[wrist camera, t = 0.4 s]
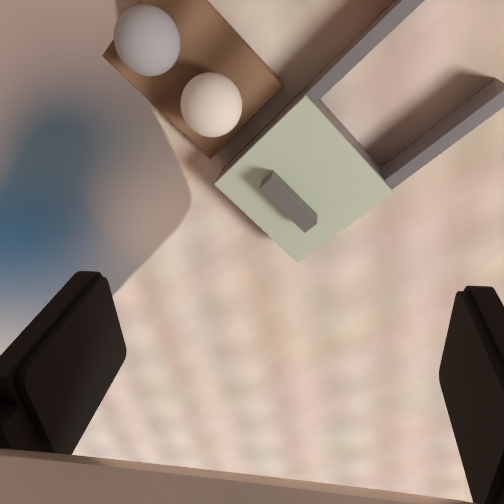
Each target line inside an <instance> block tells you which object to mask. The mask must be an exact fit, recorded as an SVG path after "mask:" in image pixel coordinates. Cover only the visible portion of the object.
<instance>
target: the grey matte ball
mask: <svg viewBox="0 0 504 504" xmlns="http://www.w3.org/2000/svg"><path fill="white" fill-rule="evenodd" d="M114 44H115V48H116V51H117V53H118V56H119V57H120V59H121V60H122V62H123V63H124V64H125V65H126V66H127V67H128V68H129V69H130V70H132V71H134V72H135V73H137V74H140V75H144V76H157V75H161V74H163V73H165V72H167V71H168V70H169V69H170V68H171V67H172V66H173V65H174V64H175V62H176V60H177V58H178V56H179V52H180V36H179V32H178V29H177V27H176V25H175V23H174V21H173V20H172V19H171V17H170V16H169V15H168V14H167V13H166V12H164V11H163V10H161V9H160V8H158V7H155V6H153V5H148V4H139V5H135V6H132V7H130V8H128V9H127V10H126V11H124V12H123V13H122V14H121V16H120V17H119V19H118V20H117V23H116V25H115V29H114Z"/></svg>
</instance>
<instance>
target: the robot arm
mask: <svg viewBox="0 0 504 504" xmlns="http://www.w3.org/2000/svg"><path fill="white" fill-rule="evenodd" d="M125 357H126V345H125V342H124V338H123V334H122V331H121V327H120V323H119V320H118V316H117V312H116V309H115V305H114V301H113V298H112V294H111V291H110V287H109V283H108V280H107V279H106V278H105V277H102V275H101V273H100V272H92V271H91V272H90V271H79V272H77V273H75V274H74V275H73V277H72V278H71V279H70V280H69V281H68V282H67V283H66V284H65V285H64V287H63V288H62V289H61V290H60V291H59V292H58V293H57V294H56V295H55V296H54V298H52V300H51V301H50V302H49V303H48V304H47V305H46V306H45V307H44V308H43V310H42V311H41V312H40V313H39V314H38V315H37V316H36V317H35V318H34V319H33V320H32V322H31V323H30V324H29V325H28V326H27V327H26V328H25V329H24V330H23V331H22V332H21V334H20V335H19V336H18V337H17V338H16V339H15V340H14V341H13V342H12V344H11V345H10V346H9V347H8V348H7V349H6V350H5V351H4V352H3V353H2V355H0V504H504V306H503V304H502V302H501V300H500V298H499V297H498V295H497V293H496V291H495V290H494V288H493V287H486V286H466V287H465V289H464V291H458V292H457V293H456V296H455V301H454V305H453V310H452V314H451V319H450V324H449V328H448V333H447V337H446V342H445V346H444V351H443V355H442V360H441V364H440V369H439V380H440V385H441V389H442V392H443V396H444V400H445V403H446V407H447V410H448V414H449V417H450V421H451V424H452V428H453V432H454V435H455V439H456V442H457V446H458V449H459V453H460V457H461V460H462V464H463V467H464V471H465V474H466V478H467V481H468V485H469V489H470V492H471V496H472V499H473V503H470V502H465V501H459V500H452V499H444V498H437V497H429V496H422V495H415V494H407V493H400V492H392V491H385V490H377V489H368V488H360V487H351V486H343V485H334V484H326V483H318V482H309V481H301V480H292V479H284V478H275V477H267V476H258V475H249V474H240V473H232V472H223V471H214V470H205V469H196V468H187V467H178V466H169V465H160V464H151V463H142V462H133V461H123V460H114V459H105V458H95V457H86V456H77V455H72V453H73V451H74V449H75V448H76V446H77V444H78V442H79V440H80V439H81V437H82V435H83V433H84V432H85V430H86V428H87V426H88V424H89V423H90V421H91V419H92V417H93V416H94V414H95V412H96V410H97V408H98V407H99V405H100V403H101V401H102V400H103V398H104V396H105V394H106V392H107V391H108V389H109V387H110V385H111V384H112V382H113V380H114V378H115V376H116V375H117V373H118V371H119V369H120V367H121V366H122V364H123V362H124V360H125Z"/></svg>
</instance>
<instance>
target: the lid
mask: <svg viewBox="0 0 504 504" xmlns="http://www.w3.org/2000/svg"><path fill="white" fill-rule="evenodd" d="M214 185H215V186H216V187H217V188H218V189H219V190H220V191H222V192H223V193H224V194H225V195H226V196H227V197H228V198H229V199H230V200H231V201H232V202H233V203H234V204H235V205H237V206H238V207H239V208H240V209H241V210H242V211H243V212H244V213H245V214H246V215H247V216H248V217H249V218H250V219H251V220H253V221H254V222H255V223H256V224H257V225H258V226H259V227H260V228H261V229H262V230H263V231H264V232H265V233H266V234H268V235H269V236H270V237H271V238H272V239H273V240H274V241H275V242H276V243H277V244H278V245H279V246H280V247H281V248H283V249H284V250H285V251H286V252H287V253H288V254H289V255H290V256H291V257H292V258H293V259H294V260H295V261H296V262H297V263H298V262H299V261H301V260H302V259H303V258H305V257H306V256H308V255H309V254H310V253H312V252H313V251H314V250H316V249H317V248H318V247H320V246H321V245H323V244H324V243H325V242H327V241H328V240H329V239H331V238H332V237H333V236H335V235H336V234H338V233H339V232H340V231H342V230H343V229H344V228H346V227H347V226H348V225H350V224H351V223H353V222H354V221H355V220H357V219H358V218H359V217H361V216H362V215H363V214H365V213H366V212H368V211H369V210H370V209H372V208H373V207H374V206H376V205H377V204H378V203H380V202H381V201H383V200H384V199H385V198H387V197H388V196H389V195H391V194H392V193H393V190H392V189H391V188H390V187H389V186H388V184H387V183H386V182H385V181H384V180H383V179H382V178H381V177H380V176H379V174H378V173H377V172H376V171H375V170H374V169H373V168H372V167H371V166H370V165H369V163H368V162H367V161H366V160H365V159H364V158H363V157H362V156H361V155H360V154H359V152H358V151H357V150H356V149H355V148H354V147H353V146H352V145H351V144H350V142H349V141H348V140H347V139H346V138H345V137H344V136H343V135H342V134H341V133H340V131H339V130H338V129H337V128H336V127H335V126H334V125H333V124H332V123H331V121H330V120H329V119H328V118H327V117H326V116H325V115H324V114H323V113H322V112H321V110H320V109H319V108H318V107H317V106H316V105H315V104H314V103H313V102H312V101H311V99H310V98H309V97H308V96H307V95H305V96H303V97H302V98H301V99H300V100H299V101H298V102H297V103H296V104H295V105H294V106H293V107H292V108H291V109H290V110H289V111H288V112H287V113H286V114H285V115H284V116H283V117H282V118H281V119H280V120H279V121H278V122H277V123H276V124H275V125H274V126H273V127H272V128H271V129H270V130H269V131H267V132H266V133H265V134H264V135H263V136H262V137H261V138H260V139H259V140H258V141H257V142H256V143H255V144H254V145H253V146H252V147H251V148H250V149H249V150H248V151H247V152H246V153H245V154H244V155H243V156H242V157H241V158H240V159H239V160H238V161H237V162H236V163H235V164H234V165H232V166H231V167H230V168H229V169H228V170H227V171H226V172H225V173H224V174H223V175H222V176H221V177H220V178H219V179H218V180H217V181H216V182H215V184H214Z"/></svg>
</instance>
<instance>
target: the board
mask: <svg viewBox="0 0 504 504" xmlns="http://www.w3.org/2000/svg"><path fill="white" fill-rule="evenodd" d="M139 4H148V5H153V6H155V7H158V8H160V9H161V10H163V11H164V12H166V13H167V14H168V15H169V16H170V17H171V19H172V20H173V21H174V23H175V25H176V27H177V29H178V32H179V36H180V52H179V56H178V58H177V60H176V62H175V64H174V65H173V66H172V67H171V68H170V69H169V70H168V71H167V72H165V73H163V74H161V75H157V76H144V75H140V74H137V73H135V72H134V71H132V70H130V69H129V68H128V67H127V66H126V65H125V64H124V63H123V62H122V60H121V59H120V57H119V56H118V53H117V51H116V48H115V44H114V40H113V41H112V42H111V44H110V46H109V47H108V48H107V50H106V51H105V53H104V54H103V57H104V58H105V59H106V60H107V61H108V62H109V63H110V64H111V65H113V66H114V67H115V68H116V69H117V70H118V71H119V72H120V73H121V74H122V75H123V76H124V77H125V78H126V79H127V80H128V81H129V82H130V83H131V84H132V85H133V86H134V87H136V88H137V89H138V90H139V91H140V92H141V93H142V94H143V95H144V96H145V97H146V98H147V99H148V100H149V101H150V102H151V103H152V104H153V105H154V106H155V107H156V108H158V109H159V110H160V111H161V112H162V113H163V114H164V115H165V116H166V117H167V118H168V119H169V120H170V121H171V122H172V123H173V124H174V125H175V126H176V127H177V128H178V129H180V130H181V131H182V132H183V133H184V134H185V135H186V136H187V137H188V138H189V139H190V140H191V141H192V142H193V143H194V144H195V145H196V146H197V147H198V148H199V149H200V150H202V151H203V152H204V153H205V154H206V155H207V156H208V157H209V158H210V159H211V158H212V157H213V156H214V155H215V154H216V153H217V152H218V151H219V150H220V149H221V148H222V147H223V146H224V145H225V144H226V143H227V142H228V141H229V140H230V139H231V138H232V137H233V135H234V134H235V133H236V132H237V131H238V130H239V129H240V128H241V127H242V126H243V125H244V124H245V123H246V122H247V121H248V120H249V119H250V118H251V117H252V116H253V115H254V114H255V113H256V112H257V111H258V110H259V109H260V108H261V107H262V106H263V105H264V104H265V103H266V102H267V101H268V100H269V99H270V98H271V97H272V96H273V95H274V94H275V93H276V92H277V91H278V90H279V89H280V88H281V87H282V85H283V82H282V81H281V80H280V79H279V78H278V77H277V76H276V74H275V73H274V72H273V71H272V70H271V69H270V68H269V67H268V66H267V65H266V64H265V62H264V61H263V60H262V59H261V58H260V57H259V56H258V55H257V54H256V53H255V51H254V50H253V49H252V48H251V47H250V46H249V45H248V44H247V43H246V42H245V41H244V39H243V38H242V37H241V36H240V35H239V34H238V33H237V32H236V31H235V30H234V29H233V27H232V26H231V25H230V24H229V23H228V22H227V21H226V20H225V19H224V18H223V17H222V15H221V14H220V13H219V12H218V11H217V10H216V9H215V8H214V7H213V6H212V5H211V3H210V2H209V1H208V0H140V1H139V3H138V4H137V5H139ZM209 72H212V73H218V74H221V75H224V76H226V77H227V78H229V79H230V80H231V81H232V82H233V83H234V84H235V85H236V87H237V88H238V90H239V92H240V95H241V99H242V113H241V116H240V119H239V121H238V123H237V124H236V126H235V127H234V128H233V129H232V130H231V131H230V132H228V133H226V134H224V135H222V136H219V137H206V136H203V135H200V134H198V133H196V132H195V131H193V130H192V129H191V128H190V127H189V126H188V124H187V123H186V122H185V120H184V118H183V115H182V112H181V96H182V93H183V90H184V88H185V86H186V85H187V84H188V82H189V81H190V80H191V79H193V78H194V77H196V76H197V75H200V74H202V73H209Z"/></svg>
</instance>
